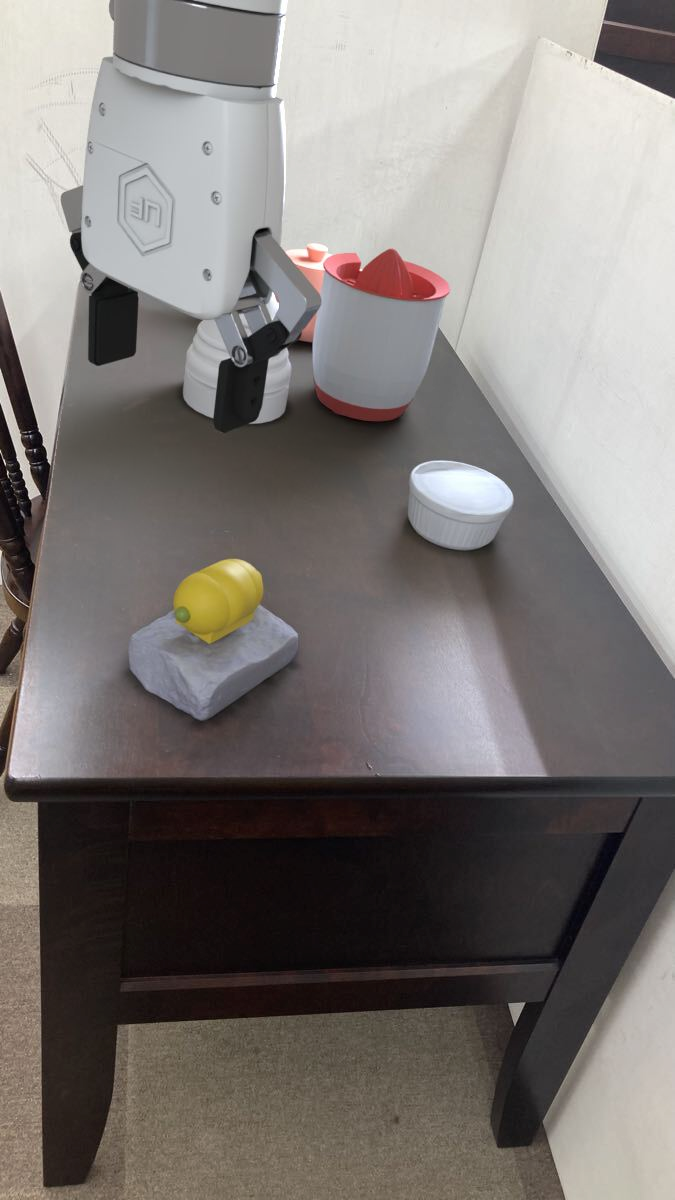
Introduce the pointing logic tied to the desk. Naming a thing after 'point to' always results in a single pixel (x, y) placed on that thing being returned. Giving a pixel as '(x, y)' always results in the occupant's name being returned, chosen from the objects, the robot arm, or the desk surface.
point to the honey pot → (212, 351)
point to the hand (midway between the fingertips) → (171, 391)
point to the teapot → (310, 275)
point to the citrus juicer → (374, 334)
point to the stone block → (209, 661)
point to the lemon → (218, 599)
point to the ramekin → (457, 504)
